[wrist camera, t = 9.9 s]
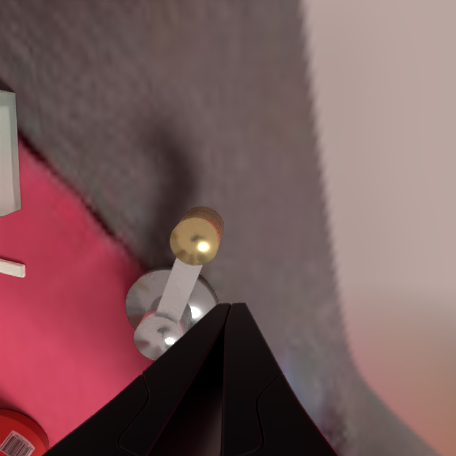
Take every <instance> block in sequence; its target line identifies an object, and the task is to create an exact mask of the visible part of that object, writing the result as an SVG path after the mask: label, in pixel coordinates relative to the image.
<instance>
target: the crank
mask: <svg viewBox="0 0 456 456" xmlns="http://www.w3.org/2000/svg"><path fill="white" fill-rule="evenodd" d="M223 233H224V223H223V220H222V218H221V216H220V215H219V214H218V213H217V212H216V211H215V210H213V209H211V208H208V207H203V206H200V207H195V208H193V209H191V210H189V211H188V212H187V213H186V214H185V216H184V217H183V218H182V220H181V221H180V222H179V223H178V225H177V226H176V227H175V228H174V230H173V231H172V233H171V236H170V246H171V249H172V252H173V253H174V255H175V256H176V260H175V263H174V266H173V268H172V271H171V274H170V276H169V279H168V282H167V284H166V287H165V290H164V292H163V295H161V296H159V297H157V298H156V299H155V300H154V301H153V302H152V304H151V305H150V307H149V309H148V310H147V312H146V314H145V315H144V317H143V319H142V320H141V322H140V324H139V325H138V327H137V329H136V331H135V333H134V343H135V346H136V348H137V349H138V350H139V352H140V353H141V354H143V355H144V356H145V357H147V358H149V359H151V360H157V359H158V358H159V357H160V356H161V355H162V354H163V353H164V352H165V351H166V350H167V349H168V348H170V347H171V346H172V345H173V344H174V343H175V342H176V341H177V340H178V339H179V338H180V337H182V336H183V335H184V334H185V333H186V332H187V331H188V328H189V326H190V323H191V320H192V310H191V308H190V306H189V305H188V303H187V302H188V299H189V297H190V294H191V292H192V290H193V287H194V285H195V282H196V280H197V278H198V275H199V273H200V270H201V268H202V265H204V264H206V263H208V262H210V261H211V260H212V259H213V258H214V257H215V255H216V253H217V250H218V247H219V244H220V241H221V239H222V236H223Z"/></svg>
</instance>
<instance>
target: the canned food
mask: <svg viewBox="0 0 456 456" xmlns="http://www.w3.org/2000/svg"><path fill="white" fill-rule="evenodd" d="M48 448H49V442H48V439H47V436H46V434H45V433H44V431H43V430H42V428H41V427H40V426H39V425H38V424H37V423H35V422H34V421H33V420H31V419H30V418H29V417H27V416H25V415H23V414H21V413H18V412H16V411H12V410H8V409H0V456H41V455H42V454H44V453H45V452H46V451H47V450H48Z"/></svg>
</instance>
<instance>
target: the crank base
mask: <svg viewBox="0 0 456 456" xmlns="http://www.w3.org/2000/svg"><path fill="white" fill-rule="evenodd" d="M172 268H173V266H161V267H156V268H153V269H150V270H148V271H146V272H145V273H143V274H142V275H141V276H140V277H139V278H138V279H137V280H136V281H135V283H134V284H133V285H132V287H131V288H130V290H129V292H128V294H127V298H126V313H127V316H128V319H129V321H130V323H131V325H132V327H133V328H134V329H135V331H136V329H137V327H138V325H139V324H140V322H141V320H142V319H143V317H144V315H145V314H146V312H147V310H148V309H149V307H150V305H151V304H152V302H153V301H154V300H155V299H156V298H157V297H159V296H161V295H163V292H164V290H165V287H166V284H167V282H168V279H169V276H170V274H171V271H172ZM187 303H188V305H189V306H190V308H191V310H192V320H191V323H190V326H189V328H188V330H189V329H190V328H191V327H192V326H193V325H195V324H196V323H197V322H198V321H199V320H200V319H201V318H202V317H203V316H204V315H205V314H207V313H208V312H209V311H210V310H211V309H212V308H213V307H214V306H215V305H216V304H219V303H218V299H217V296H216V294H215V292H214V291H213V289H212V287H211V286H210V285H209V284H208V283H207V282H206V281H205V280H204V279H203V278H202V277H200V276H199V275H198V278H197V280H196V282H195V285H194V287H193V290H192V292H191V294H190V297H189V299H188V302H187Z"/></svg>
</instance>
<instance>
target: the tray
mask: <svg viewBox="0 0 456 456" xmlns="http://www.w3.org/2000/svg"><path fill="white" fill-rule="evenodd" d="M20 209H21V200H20V179H19V159H18V138H17V118H16V98H15V93H13V92H8V91H4V90H0V217H2V216H5V215H7V214H10V213H12V212H15V211H17V210H20Z"/></svg>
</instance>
